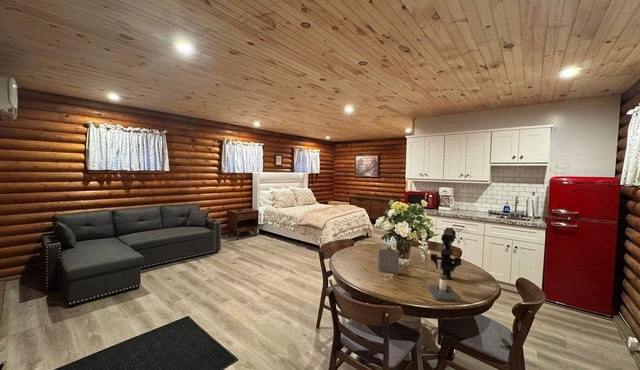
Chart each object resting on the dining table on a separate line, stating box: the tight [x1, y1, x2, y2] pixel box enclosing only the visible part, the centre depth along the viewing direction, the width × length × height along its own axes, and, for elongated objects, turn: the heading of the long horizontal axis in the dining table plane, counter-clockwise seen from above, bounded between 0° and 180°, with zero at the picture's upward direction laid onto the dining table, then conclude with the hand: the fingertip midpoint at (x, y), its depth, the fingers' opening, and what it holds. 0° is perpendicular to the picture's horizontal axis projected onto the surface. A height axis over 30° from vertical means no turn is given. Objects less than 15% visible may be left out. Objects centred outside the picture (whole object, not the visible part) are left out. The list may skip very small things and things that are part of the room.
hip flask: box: [377, 245, 400, 275], centre depth 208 cm, size 16×4×20 cm, turn 65°
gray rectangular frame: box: [428, 284, 459, 302], centre depth 170 cm, size 13×13×4 cm
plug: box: [438, 274, 448, 292], centre depth 169 cm, size 4×4×13 cm
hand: (444, 270), depth 176 cm, fingers open, 9 cm apart
